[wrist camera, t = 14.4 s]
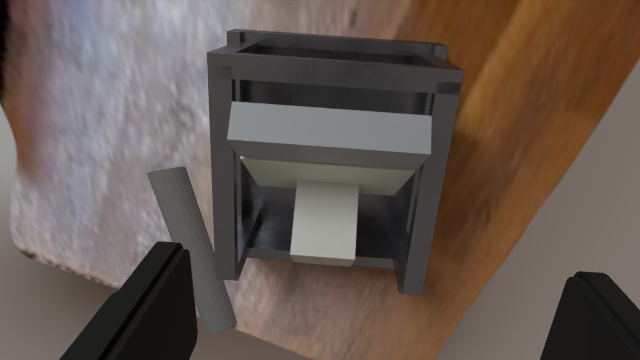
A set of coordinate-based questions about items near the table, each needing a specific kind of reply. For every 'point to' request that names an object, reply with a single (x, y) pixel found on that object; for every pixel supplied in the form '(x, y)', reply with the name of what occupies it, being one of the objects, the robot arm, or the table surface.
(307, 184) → the matte off-white cube
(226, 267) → the trapdoor frame
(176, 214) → the gray half cylinder
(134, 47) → the table surface
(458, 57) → the table surface
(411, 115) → the trapdoor
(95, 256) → the table surface
